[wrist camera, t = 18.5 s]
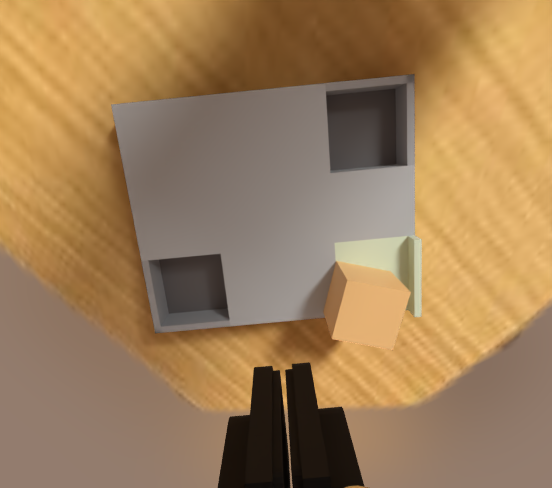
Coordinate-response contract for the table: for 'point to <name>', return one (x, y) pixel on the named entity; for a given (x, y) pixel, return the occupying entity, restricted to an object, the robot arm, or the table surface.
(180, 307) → the grey sorting tray
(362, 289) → the block
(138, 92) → the table surface
